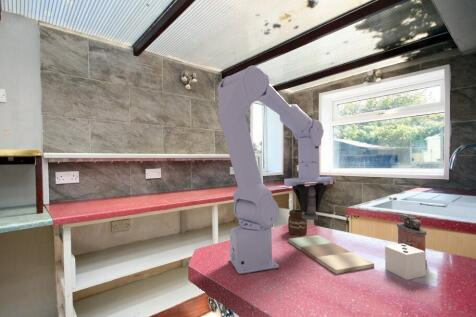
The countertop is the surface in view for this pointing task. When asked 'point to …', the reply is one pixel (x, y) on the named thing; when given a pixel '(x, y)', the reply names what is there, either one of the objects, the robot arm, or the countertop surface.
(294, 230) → the utensil holder
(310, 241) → the board
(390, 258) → the die
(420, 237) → the lighter
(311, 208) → the pawn
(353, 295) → the countertop surface
